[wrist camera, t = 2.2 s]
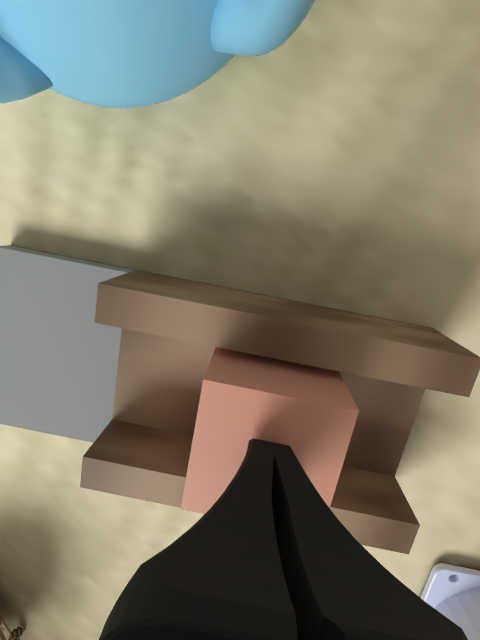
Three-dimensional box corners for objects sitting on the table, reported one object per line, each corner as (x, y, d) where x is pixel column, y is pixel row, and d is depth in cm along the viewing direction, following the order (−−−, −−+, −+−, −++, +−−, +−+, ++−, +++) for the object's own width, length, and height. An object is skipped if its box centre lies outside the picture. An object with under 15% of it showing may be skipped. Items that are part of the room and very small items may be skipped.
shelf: (135, 269, 17) (127, 272, 16) (116, 434, 19) (109, 445, 18) (9, 245, 17) (-6, 246, 16) (5, 412, 19) (-9, 422, 18)
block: (330, 355, 16) (359, 410, 12) (304, 452, 18) (320, 537, 13) (220, 334, 16) (202, 379, 12) (203, 431, 18) (180, 508, 13)
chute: (433, 328, 17) (483, 359, 13) (379, 487, 19) (408, 554, 15) (135, 269, 17) (97, 283, 13) (116, 434, 19) (80, 487, 16)
